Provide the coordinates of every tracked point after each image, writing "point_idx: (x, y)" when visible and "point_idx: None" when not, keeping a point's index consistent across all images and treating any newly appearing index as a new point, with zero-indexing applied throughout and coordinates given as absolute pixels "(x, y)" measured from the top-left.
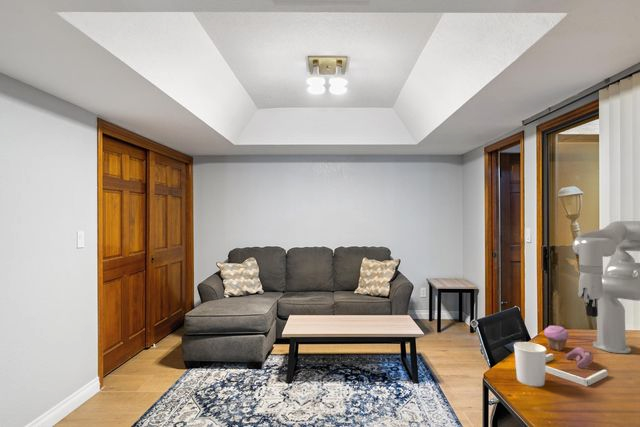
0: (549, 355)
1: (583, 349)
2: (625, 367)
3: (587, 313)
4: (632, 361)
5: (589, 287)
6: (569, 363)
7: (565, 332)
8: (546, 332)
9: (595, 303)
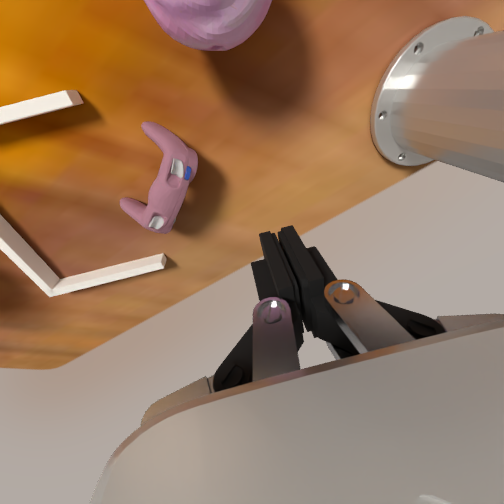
0: (41, 111)
1: (163, 204)
2: None
3: (262, 247)
4: (337, 211)
5: None
6: (124, 161)
7: (215, 34)
8: None
9: (334, 352)
